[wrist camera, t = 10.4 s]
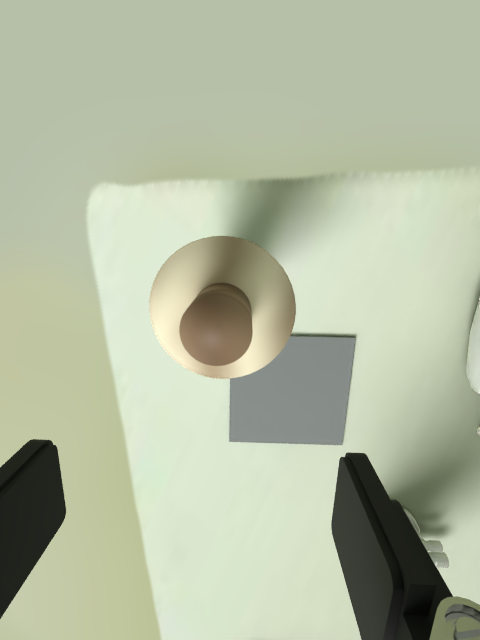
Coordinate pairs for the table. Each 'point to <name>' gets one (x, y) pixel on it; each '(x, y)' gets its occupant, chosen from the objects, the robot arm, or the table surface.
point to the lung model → (474, 355)
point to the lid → (222, 307)
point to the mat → (295, 394)
